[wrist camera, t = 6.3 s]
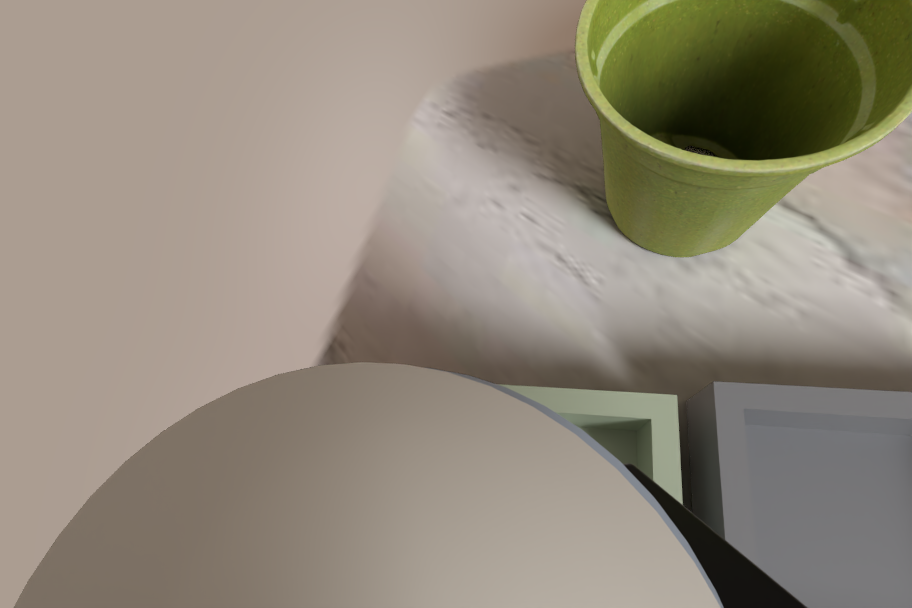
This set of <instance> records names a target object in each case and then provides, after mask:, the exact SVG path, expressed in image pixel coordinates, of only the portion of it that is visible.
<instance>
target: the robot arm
mask: <svg viewBox="0 0 912 608" xmlns="http://www.w3.org/2000/svg"><path fill="white" fill-rule="evenodd" d="M623 465H624V466H625V467H626V468H627V469H628V470H629V471H630V472H631V473H632V474H633V476H634V477H635V478H636V479H637V480H638V481H639V482H640V483H641V484H642V485H643V486H644V487H645V488H646V489H647V490H648V491H649V492H650V493H651V495H652V496H653V497H654V498H655V499H656V500H657V502H658V503H659V504H660V506H661V507H662V508H663V510H664V511H665V512H666V514H667V515H668V516H669V518H670V519H671V520H672V522H673V523H674V524H675V526H676V527H677V529H678V530H679V531H680V533H681V534H682V535H683V537H684V538H685V539H686V541H687V542H688V544H689V546H690V547H691V549H692V551H693V552H694V554H695V556H696V557H697V559H698V561H699V563H700V564H701V566H702V568H703V569H704V571H705V573H706V575H707V576H708V578H709V580H710V581H711V583H712V585H713V586H714V588H715V590H716V592H717V594H718V596H719V598H720V601H721V603H722V605H723V607H724V608H808V607H806V606H805V605H804V604H803V603H802V602H800V601H799V600H798V599H797V598H795V597H794V596H793V595H792V594H791V593H789V592H788V591H787V590H786V589H784V588H783V587H782V586H781V585H780V584H778V583H777V582H776V581H775V580H774V579H772V578H771V577H770V576H769V575H767V574H766V573H765V572H764V571H763V570H761V569H760V568H759V567H758V566H756V565H755V564H754V563H753V562H752V561H750V560H749V559H748V558H747V557H746V556H744V555H743V554H742V553H741V552H739V551H738V550H737V549H736V548H735V547H733V546H732V545H731V544H730V543H729V542H727V541H726V540H725V539H724V538H722V537H721V536H720V535H719V534H718V533H716V532H715V531H714V530H713V529H711V528H710V527H709V526H708V525H707V524H705V523H704V522H703V521H702V520H701V519H699V518H698V517H697V516H696V515H694V514H693V513H692V512H691V511H690V510H688V509H687V508H686V507H685V506H683V505H682V504H681V503H680V502H679V501H677V500H676V499H675V498H674V497H673V496H671V495H670V494H669V493H668V492H666V491H665V490H664V489H663V488H662V487H660V486H659V485H658V484H657V483H655V482H654V481H653V480H652V479H651V478H649V477H648V476H647V475H646V474H645V473H643V472H642V471H641V470H640V469H638V468H637V467H636V466H635V465H633V464H631V463H626V464H623Z"/></svg>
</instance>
